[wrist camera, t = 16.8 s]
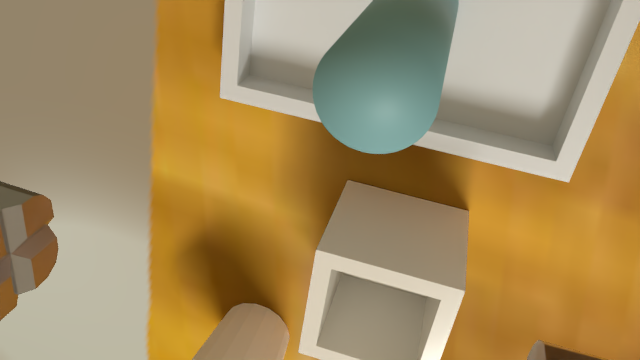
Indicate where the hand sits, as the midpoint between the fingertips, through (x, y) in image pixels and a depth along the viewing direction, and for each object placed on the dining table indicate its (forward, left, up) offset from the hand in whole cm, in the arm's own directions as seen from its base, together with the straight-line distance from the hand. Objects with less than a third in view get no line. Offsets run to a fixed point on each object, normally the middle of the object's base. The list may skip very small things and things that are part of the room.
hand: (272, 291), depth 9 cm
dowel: (0, 0, -24) cm, 24 cm away
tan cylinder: (+7, +28, -25) cm, 38 cm away
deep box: (-2, +16, -25) cm, 29 cm away
